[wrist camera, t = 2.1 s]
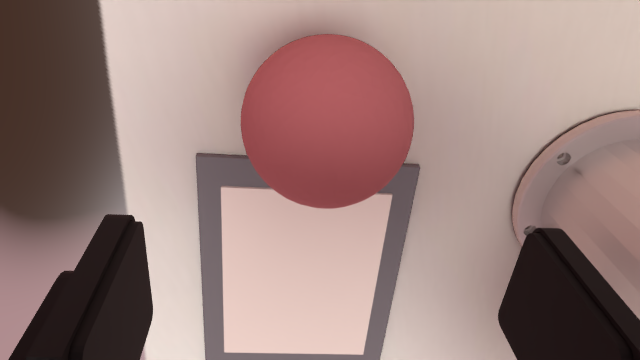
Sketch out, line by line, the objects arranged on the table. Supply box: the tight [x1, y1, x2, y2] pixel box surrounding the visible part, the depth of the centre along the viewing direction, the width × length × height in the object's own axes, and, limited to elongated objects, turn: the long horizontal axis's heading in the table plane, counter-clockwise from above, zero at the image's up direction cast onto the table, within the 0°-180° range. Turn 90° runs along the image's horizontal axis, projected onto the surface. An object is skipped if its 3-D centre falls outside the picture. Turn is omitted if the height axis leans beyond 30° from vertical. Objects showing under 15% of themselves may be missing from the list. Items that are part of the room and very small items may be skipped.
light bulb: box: [241, 34, 414, 209], centre depth 22 cm, size 7×7×12 cm
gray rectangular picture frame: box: [196, 153, 420, 360], centre depth 35 cm, size 19×14×1 cm
